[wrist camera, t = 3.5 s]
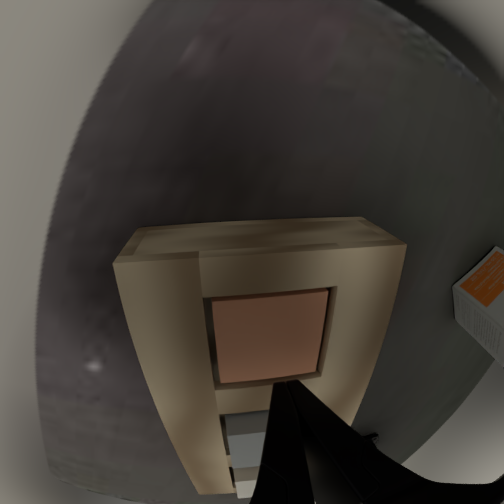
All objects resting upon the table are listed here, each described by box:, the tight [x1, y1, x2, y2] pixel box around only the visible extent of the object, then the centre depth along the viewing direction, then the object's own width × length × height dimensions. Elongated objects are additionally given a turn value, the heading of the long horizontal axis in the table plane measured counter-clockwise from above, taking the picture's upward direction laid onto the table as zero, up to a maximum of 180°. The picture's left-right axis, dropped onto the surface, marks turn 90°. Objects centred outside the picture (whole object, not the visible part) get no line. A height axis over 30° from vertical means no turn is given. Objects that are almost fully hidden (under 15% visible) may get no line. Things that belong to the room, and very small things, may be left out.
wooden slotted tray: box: [113, 217, 407, 494], centre depth 16 cm, size 11×22×4 cm, turn 0°
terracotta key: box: [212, 287, 328, 383], centre depth 12 cm, size 4×4×2 cm
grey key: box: [225, 409, 269, 469], centre depth 14 cm, size 4×4×2 cm
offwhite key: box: [233, 466, 259, 498], centre depth 16 cm, size 4×4×2 cm
